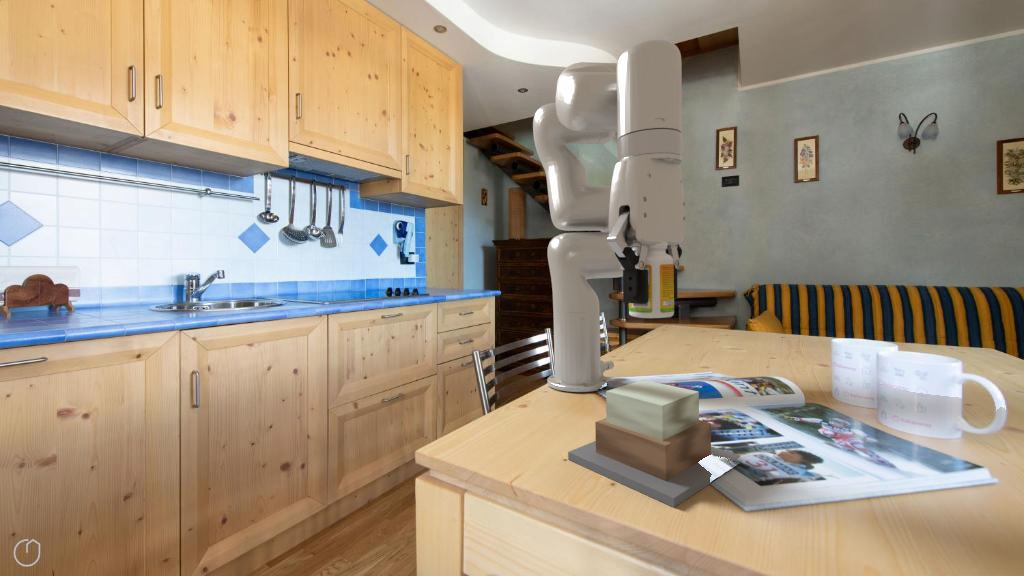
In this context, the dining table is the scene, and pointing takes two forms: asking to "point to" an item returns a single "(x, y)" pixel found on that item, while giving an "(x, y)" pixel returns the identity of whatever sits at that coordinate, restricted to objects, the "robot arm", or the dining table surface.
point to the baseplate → (647, 484)
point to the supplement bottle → (657, 284)
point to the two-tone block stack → (653, 428)
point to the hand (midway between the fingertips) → (650, 299)
